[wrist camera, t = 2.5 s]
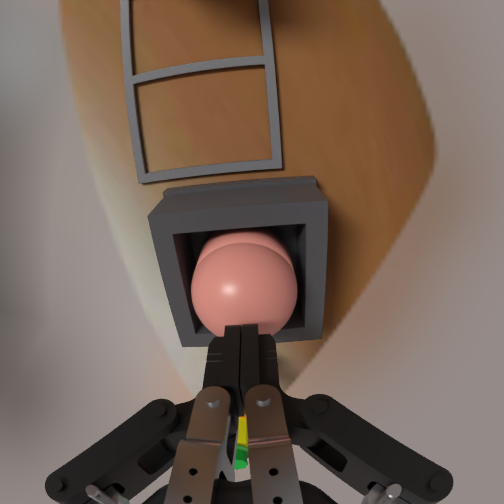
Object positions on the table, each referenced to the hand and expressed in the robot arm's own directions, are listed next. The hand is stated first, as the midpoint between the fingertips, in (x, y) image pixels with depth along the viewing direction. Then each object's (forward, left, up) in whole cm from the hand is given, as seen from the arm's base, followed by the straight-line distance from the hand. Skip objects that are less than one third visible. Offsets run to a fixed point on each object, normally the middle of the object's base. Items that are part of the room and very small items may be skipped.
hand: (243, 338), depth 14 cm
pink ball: (0, 0, -7) cm, 7 cm away
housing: (0, 0, -9) cm, 9 cm away
